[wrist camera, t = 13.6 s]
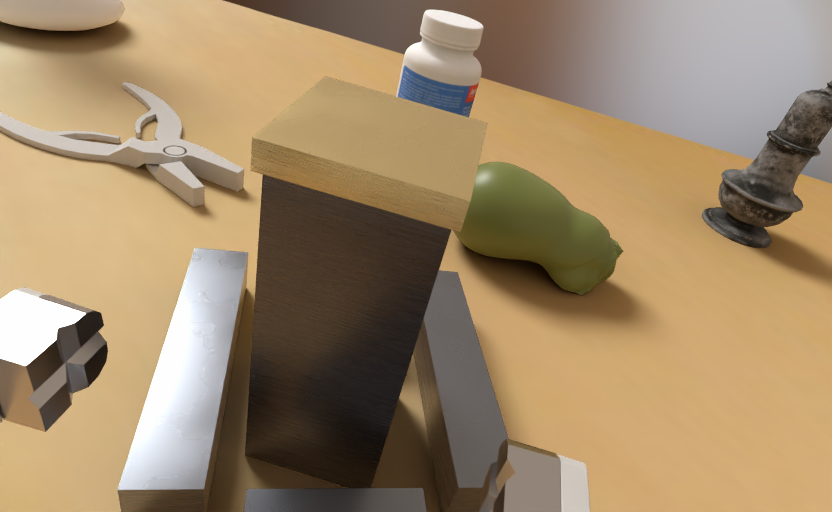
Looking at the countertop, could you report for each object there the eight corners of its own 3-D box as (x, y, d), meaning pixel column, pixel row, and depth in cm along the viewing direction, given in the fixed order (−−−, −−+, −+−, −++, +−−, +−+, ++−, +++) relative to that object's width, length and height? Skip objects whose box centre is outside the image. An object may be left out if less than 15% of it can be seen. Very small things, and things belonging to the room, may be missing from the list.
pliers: (130, 69, 38) (286, 155, 33) (132, 91, 39) (283, 178, 34) (-31, 92, 31) (138, 208, 26) (-24, 118, 32) (140, 235, 27)
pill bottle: (460, 177, 39) (502, 39, 33) (387, 165, 38) (418, 21, 32) (450, 144, 43) (485, 17, 38) (384, 132, 42) (410, 0, 37)
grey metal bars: (195, 283, 24) (194, 247, 23) (447, 302, 27) (457, 272, 26) (-61, 1161, 8) (-105, 1186, 7) (626, 985, 11) (674, 983, 10)
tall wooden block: (373, 500, 18) (470, 200, 11) (236, 458, 18) (252, 137, 11) (402, 392, 22) (488, 122, 15) (290, 358, 22) (325, 76, 15)
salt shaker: (751, 216, 45) (849, 75, 38) (788, 256, 40) (907, 104, 34) (687, 201, 45) (773, 56, 38) (716, 241, 40) (822, 82, 33)
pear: (483, 133, 32) (635, 210, 32) (446, 204, 35) (584, 274, 35) (466, 169, 27) (643, 259, 27) (425, 247, 30) (585, 328, 30)
